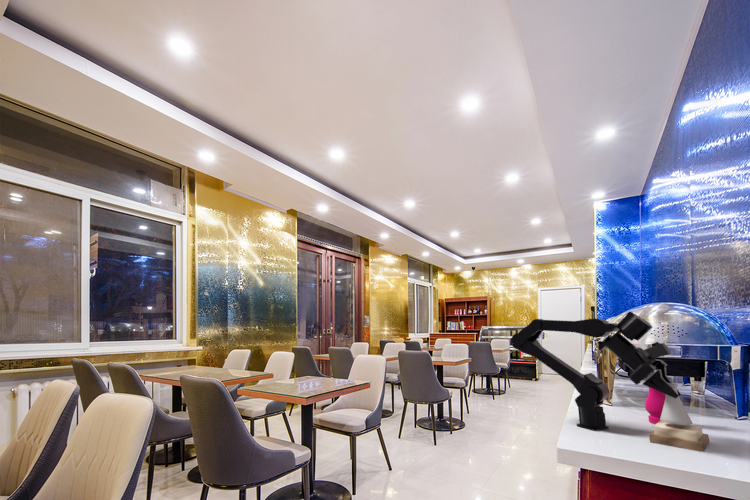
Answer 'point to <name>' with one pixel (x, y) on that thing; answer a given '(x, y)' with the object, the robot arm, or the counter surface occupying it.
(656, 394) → the pepper mill
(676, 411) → the flask
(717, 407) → the counter surface
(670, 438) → the tower base
